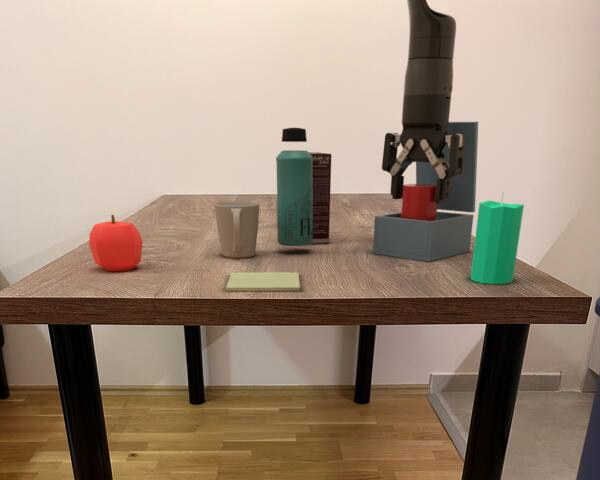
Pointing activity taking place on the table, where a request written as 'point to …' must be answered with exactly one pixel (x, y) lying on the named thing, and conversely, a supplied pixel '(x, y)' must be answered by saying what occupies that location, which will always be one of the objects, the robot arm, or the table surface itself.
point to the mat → (264, 281)
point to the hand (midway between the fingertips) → (418, 200)
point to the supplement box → (321, 196)
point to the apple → (115, 245)
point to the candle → (496, 242)
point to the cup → (237, 227)
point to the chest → (422, 236)
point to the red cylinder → (419, 202)
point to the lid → (462, 184)
